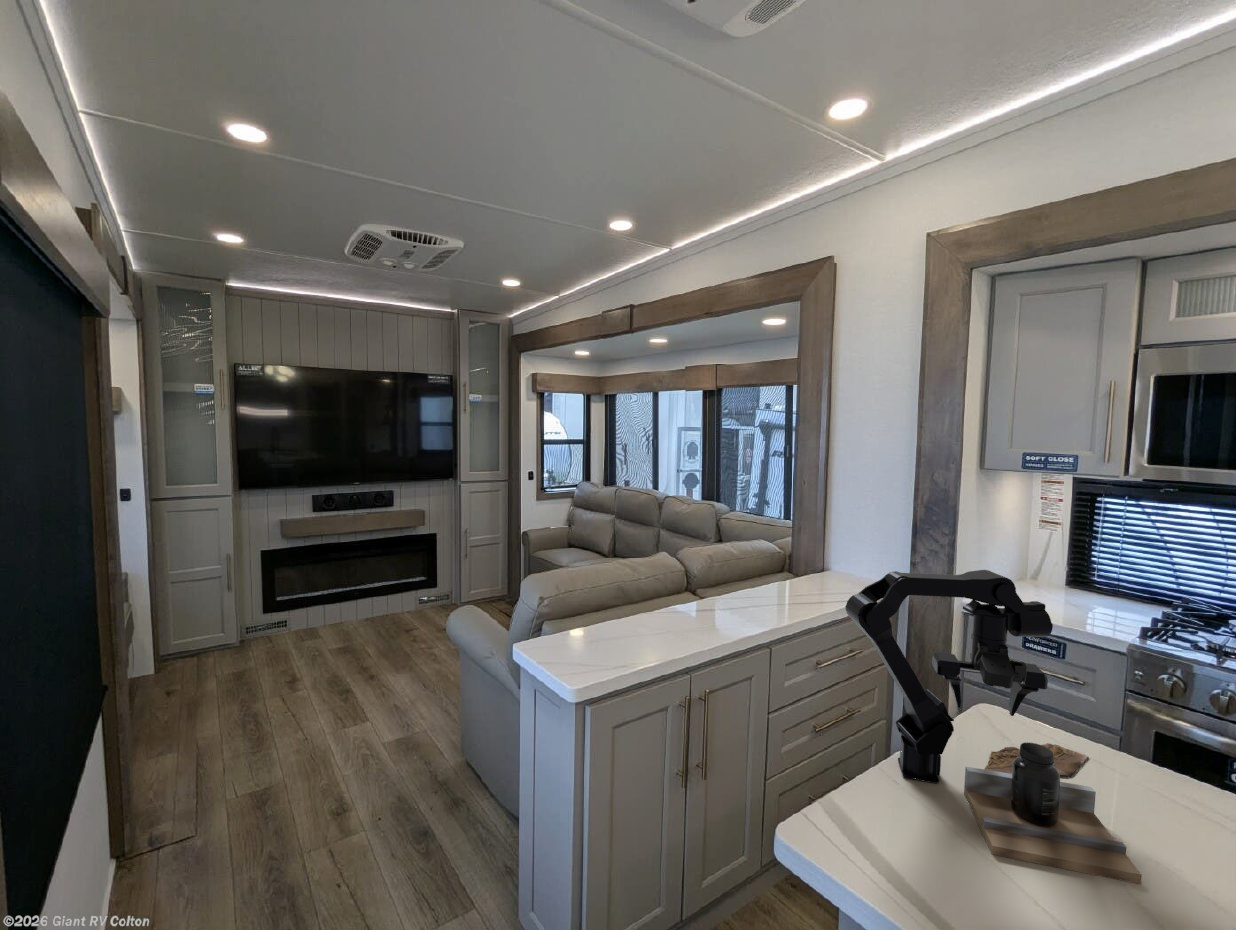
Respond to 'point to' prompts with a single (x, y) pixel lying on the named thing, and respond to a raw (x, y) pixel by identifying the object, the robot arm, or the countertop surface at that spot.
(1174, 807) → the countertop surface
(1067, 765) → the wooden fragment
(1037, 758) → the supplement bottle
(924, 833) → the countertop surface
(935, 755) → the robot arm
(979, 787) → the cleat board
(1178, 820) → the countertop surface
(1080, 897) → the countertop surface
